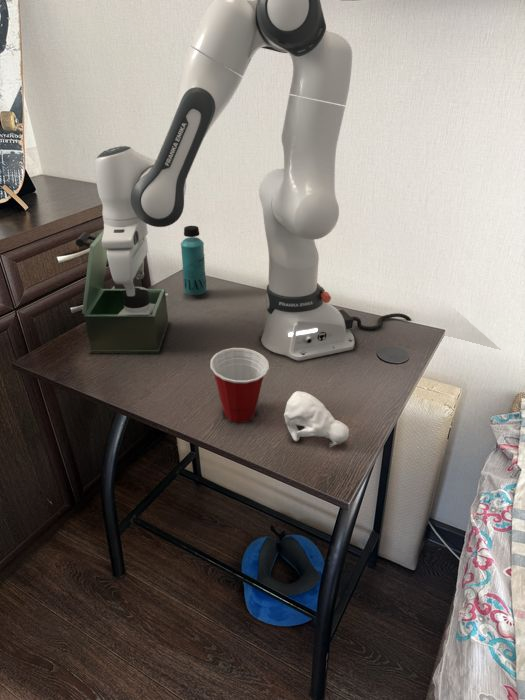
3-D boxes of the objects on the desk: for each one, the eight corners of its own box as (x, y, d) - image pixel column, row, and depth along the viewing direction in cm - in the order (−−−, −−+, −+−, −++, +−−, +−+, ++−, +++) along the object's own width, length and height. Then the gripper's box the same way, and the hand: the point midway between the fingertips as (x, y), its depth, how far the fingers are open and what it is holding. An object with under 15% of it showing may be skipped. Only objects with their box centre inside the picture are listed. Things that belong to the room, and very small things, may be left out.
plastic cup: (250, 439, 91) (250, 385, 85) (201, 420, 96) (198, 368, 89) (278, 407, 99) (279, 356, 93) (232, 391, 104) (230, 341, 97)
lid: (111, 224, 115) (89, 218, 115) (93, 246, 103) (69, 239, 102) (103, 287, 123) (82, 282, 123) (85, 314, 111) (62, 309, 110)
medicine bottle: (149, 343, 119) (143, 297, 112) (121, 340, 120) (114, 295, 113) (160, 329, 125) (155, 285, 118) (133, 326, 126) (127, 282, 119)
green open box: (168, 323, 129) (164, 288, 124) (158, 353, 116) (154, 316, 111) (108, 323, 129) (101, 288, 124) (91, 353, 116) (84, 315, 111)
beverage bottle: (181, 299, 141) (175, 230, 131) (188, 289, 147) (182, 222, 137) (203, 301, 140) (199, 231, 130) (209, 291, 146) (206, 224, 136)
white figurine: (296, 381, 92) (359, 403, 88) (290, 416, 96) (350, 438, 93) (282, 399, 87) (348, 424, 83) (277, 435, 91) (339, 460, 88)
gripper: (122, 213, 117) (132, 269, 124) (99, 243, 100) (111, 306, 107) (149, 213, 117) (157, 268, 124) (130, 243, 99) (141, 305, 107)
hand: (136, 286), depth 115 cm, fingers open, 8 cm apart
